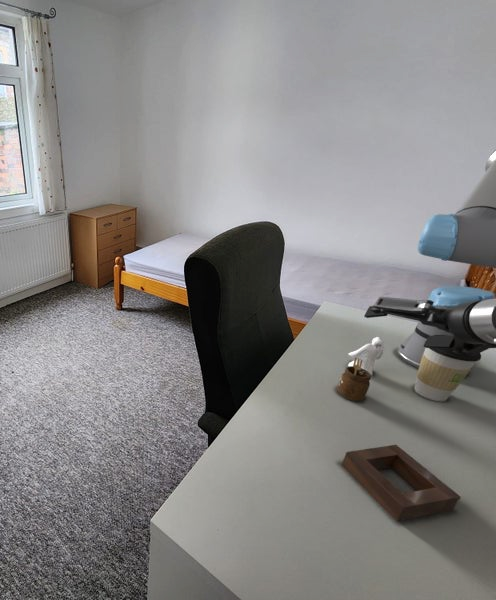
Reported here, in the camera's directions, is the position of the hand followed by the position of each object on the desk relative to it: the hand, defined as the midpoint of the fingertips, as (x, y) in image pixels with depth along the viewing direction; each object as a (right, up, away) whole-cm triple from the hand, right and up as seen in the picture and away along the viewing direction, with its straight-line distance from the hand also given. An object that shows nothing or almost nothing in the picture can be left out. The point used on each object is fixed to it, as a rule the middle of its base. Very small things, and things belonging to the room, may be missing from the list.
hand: (397, 326), depth 78 cm
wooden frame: (-14, -29, -15) cm, 35 cm away
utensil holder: (-4, -18, +9) cm, 21 cm away
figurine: (+6, -14, +19) cm, 24 cm away
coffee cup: (+17, -18, +9) cm, 26 cm away
